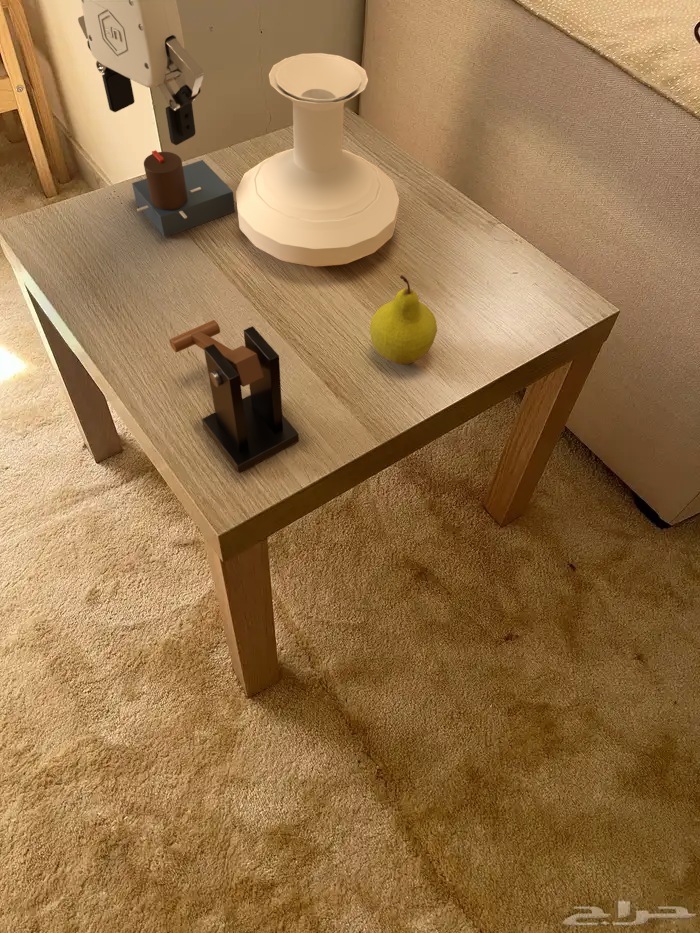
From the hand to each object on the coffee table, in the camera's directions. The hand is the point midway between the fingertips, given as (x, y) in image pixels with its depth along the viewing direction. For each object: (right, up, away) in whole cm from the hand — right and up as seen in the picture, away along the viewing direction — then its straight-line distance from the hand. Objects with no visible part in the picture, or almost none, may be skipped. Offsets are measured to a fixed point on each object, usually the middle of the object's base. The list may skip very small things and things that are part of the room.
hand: (152, 123), depth 78 cm
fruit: (+28, -26, 0) cm, 38 cm away
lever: (+10, -28, -11) cm, 32 cm away
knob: (0, -5, +8) cm, 10 cm away
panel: (+1, -6, +12) cm, 13 cm away
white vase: (+18, -9, +11) cm, 23 cm away
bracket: (+12, -35, -8) cm, 38 cm away
